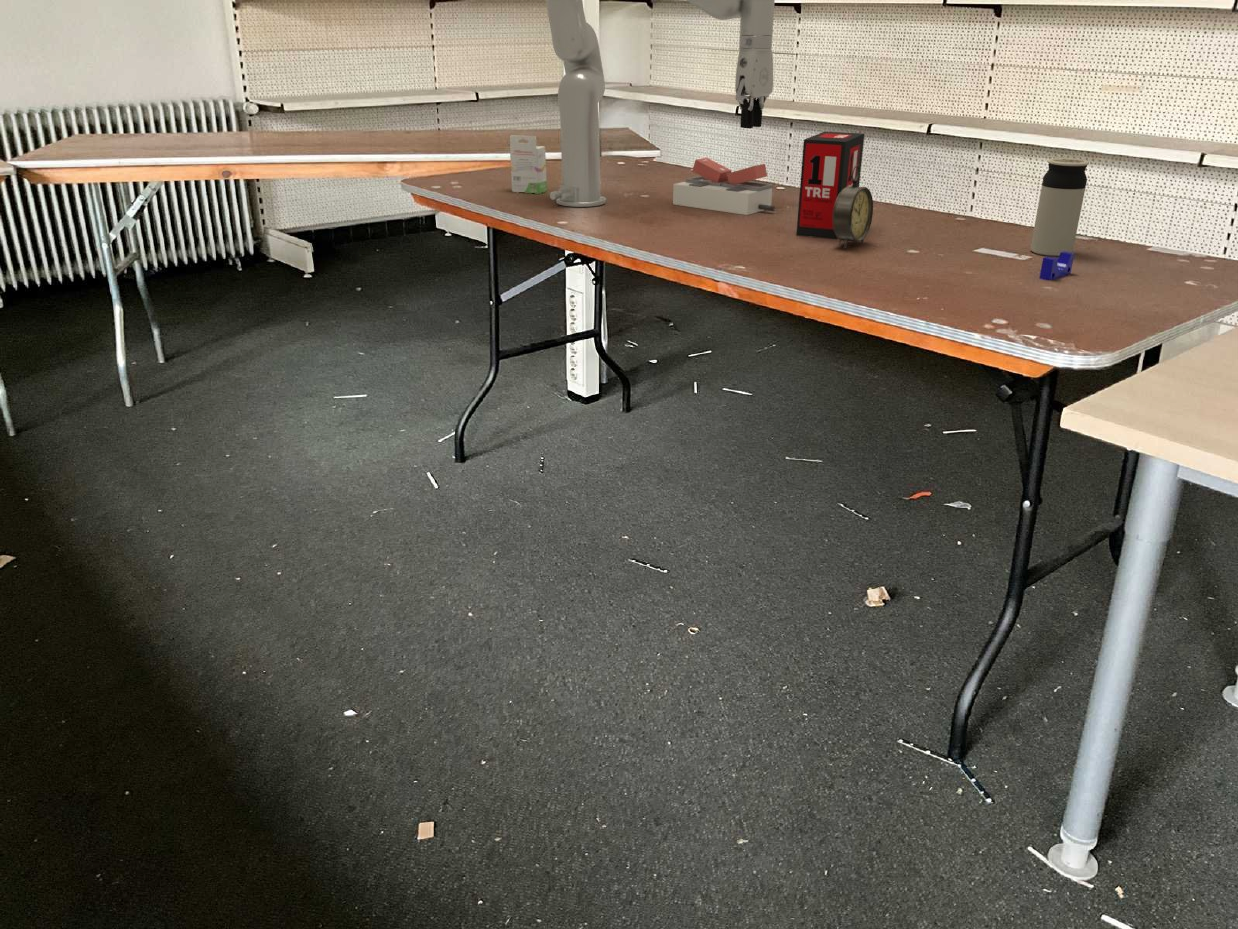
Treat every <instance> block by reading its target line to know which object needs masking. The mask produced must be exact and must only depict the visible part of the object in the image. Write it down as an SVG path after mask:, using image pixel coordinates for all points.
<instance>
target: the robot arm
mask: <svg viewBox="0 0 1238 929" xmlns="http://www.w3.org/2000/svg"><path fill="white" fill-rule="evenodd" d="M685 1H686V2H688V3H690V4H691V5H693V6H694V7H696V8H698V9H699V10H701V11H703V12H704V13H705V14H708V15H709V16H711V17H712V18H714V19H716V20H719V21H726V20H732V19H739V21H740V22H739V44H738V47H739V48H738V51H739V52H738V57H737V63H736V72H735V82H734V83H735V85H734V86H735V87H734V90H735V98H734V99H735V101H736V102H738V104H739V109H740V128H742V129H753V128H761V127H762V124H763V122H762V121H763V120H762V119H763V110H764V107H765V102H766V100H767V99H768V97H769V96H770V95H771V94H772V93H773V90H774V55H773V50H772V49H773V48H772V47H773V46H772V45H773V44H772V43H773V33H774V17H775V16H774V13H775V0H685ZM545 3H546V8H547V18H548V22H549V30H550V34H551V42H552V47H553V51H554V53H555V55H556V56H557V58H558V59H560V60H561V61H563V67H564V72H565V74H564V75H563V77H562V78H561V79H560V82H559V85H558V88H557V89H558V90H557V100H558V102H557V103H558V109H559V119H560V120H559V121H560V124H559V125H560V149H561V150H560V151H561V158H560V159H561V185H559V189H558V190H555V191H551V192H550V193H549V197H550V199H551V201H554V200H555V201H556V203H557V204H558V205H561V206H564V207H572V208H578V207H579V208H580V207H581V208H584V207H586V208H587V207H597V206H602V205H605V204H606V203H607V198H606V197H605V196H602V195H601V183H600V182H601V181H600V180H601V178H600V177H601V174H600V170H601V169H600V164H601V163H600V161H601V160H600V157H601V156H600V155H601V154H600V151H601V150H600V144H601V143H600V118H599V116H600V115H599V103H600V101H601V100H602V99H603V97H604V95H605V89H606V84H605V76H604V70H603V69H604V68H603V62H602V57H601V51H600V45H599V41H598V37H597V33H596V31H595V30H594V29H595V28H594V27H592V26H591V24H589V23H588V22H587V20H586V15H585V11H584V10H585V9H584V1H583V0H545Z"/></svg>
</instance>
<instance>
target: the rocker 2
mask: <svg viewBox="0 0 1238 929" xmlns="http://www.w3.org/2000/svg"><path fill="white" fill-rule="evenodd" d="M727 177H728V181H729V184H733V185H736V184H740V183H744V182H752V181H755V180H758V179H762V178H766V177H768V172H767V167H766V163H762V164H755V165H753V166H752V165H751V166H749V167H746V168H741V169H739V170H734V171H731V173H727Z"/></svg>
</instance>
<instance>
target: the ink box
mask: <svg viewBox="0 0 1238 929" xmlns="http://www.w3.org/2000/svg"><path fill="white" fill-rule="evenodd" d="M522 140H524V141H527V142H520V141H522ZM537 144H538V142H537V136H536V135H519V134H518V135H516V134H515V135H513V134H511V135H510V136H509V145H510V146H509V154H510V156H509V157H510V175H511V176H510V178H511V192H513V193H519V192H525V193H524V194H532V193H535V194H534V195H539V194H543V193H545V192H547V191H548V188H547V187H548V184H547V161H546V160H547V159H546V158H547V157H546V146H543V145H542V146H539V145H537ZM542 192H543V193H542Z"/></svg>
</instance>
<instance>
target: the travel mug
mask: <svg viewBox="0 0 1238 929" xmlns="http://www.w3.org/2000/svg"><path fill="white" fill-rule="evenodd" d="M1047 163H1048V170H1047V171H1046V172H1045V174H1044V176H1042V177H1043V178H1042V182H1041V187H1040V194H1039V199H1038V205H1037V210H1036V215H1035V221H1034V228H1033V232H1032V238H1031V243H1030V247H1029V248H1030V251H1031V252H1033V253H1034V254H1037V255H1041V256H1044V257H1055V258H1059V256H1060V253H1061V252H1064V251H1065V252H1071V253H1074V249H1075V248H1074V246H1075V241H1076V237H1077V233H1078V227H1079V222H1080V217H1081V212H1082V207H1083V203H1084V198H1085V194H1086V193H1085V192H1086V188H1087V187H1086V186H1087V182H1088V178H1087V175H1086V169H1087V167H1088V165H1089V164H1090V162H1089V161H1088V160H1086V159H1079V158H1066V157H1055V158H1049V159H1047Z"/></svg>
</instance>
